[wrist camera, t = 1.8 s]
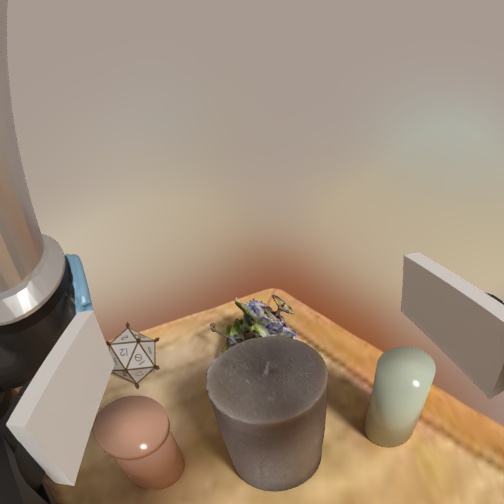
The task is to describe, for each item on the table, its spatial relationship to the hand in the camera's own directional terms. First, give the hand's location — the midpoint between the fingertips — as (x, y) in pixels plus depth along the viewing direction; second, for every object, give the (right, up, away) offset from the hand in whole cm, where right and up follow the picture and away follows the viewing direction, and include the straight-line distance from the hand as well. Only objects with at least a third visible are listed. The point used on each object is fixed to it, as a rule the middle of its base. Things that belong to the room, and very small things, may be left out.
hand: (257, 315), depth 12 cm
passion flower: (+1, -13, +34) cm, 37 cm away
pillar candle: (+2, -20, +17) cm, 26 cm away
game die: (-17, -16, +31) cm, 39 cm away
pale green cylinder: (+16, -18, +18) cm, 29 cm away
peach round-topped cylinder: (-11, -21, +16) cm, 29 cm away
